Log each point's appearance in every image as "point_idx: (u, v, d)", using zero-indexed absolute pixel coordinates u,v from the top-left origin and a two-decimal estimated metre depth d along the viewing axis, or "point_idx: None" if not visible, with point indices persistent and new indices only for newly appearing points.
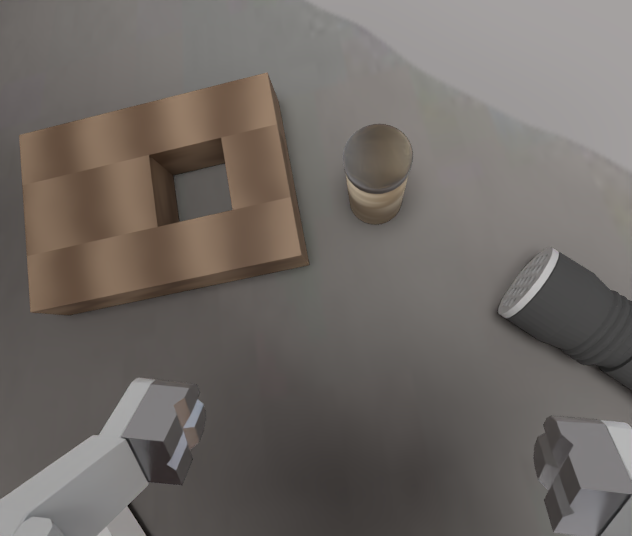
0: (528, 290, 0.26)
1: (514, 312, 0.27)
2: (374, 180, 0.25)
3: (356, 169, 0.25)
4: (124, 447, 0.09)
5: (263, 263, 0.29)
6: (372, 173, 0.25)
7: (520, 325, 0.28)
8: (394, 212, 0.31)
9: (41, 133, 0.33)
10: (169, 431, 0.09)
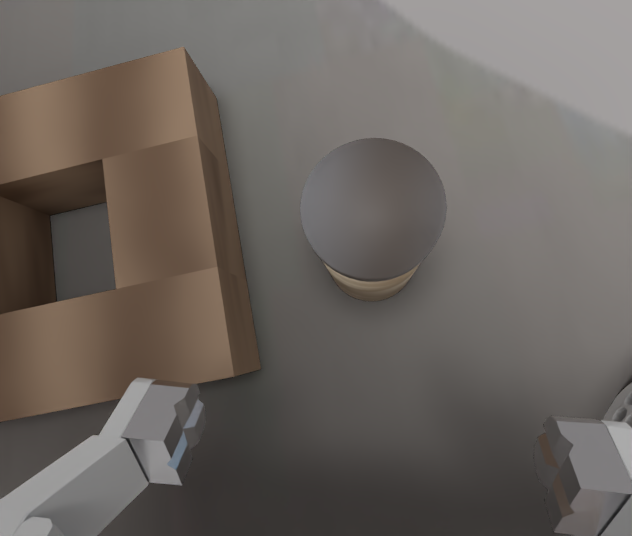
0: None
1: None
2: (365, 258, 0.12)
3: (327, 233, 0.12)
4: (124, 447, 0.09)
5: None
6: (360, 242, 0.12)
7: None
8: None
9: None
10: (169, 431, 0.09)
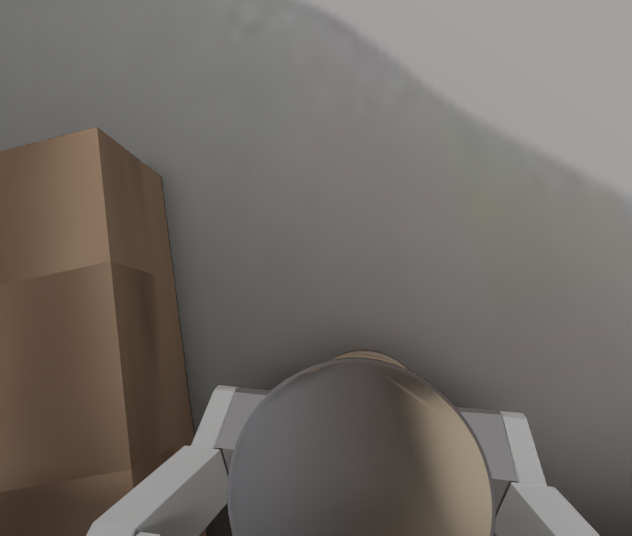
0: None
1: None
2: None
3: None
4: (218, 458, 0.09)
5: None
6: None
7: None
8: None
9: None
10: None
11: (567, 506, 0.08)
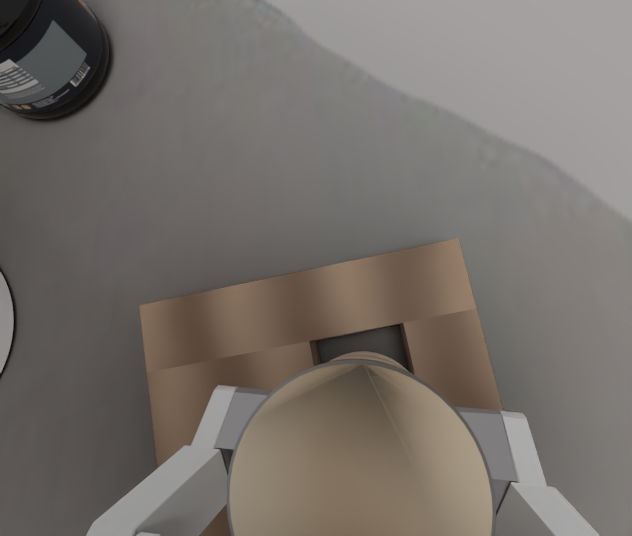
0: None
1: None
2: None
3: None
4: (218, 458, 0.09)
5: None
6: None
7: None
8: None
9: (167, 304, 0.27)
10: None
11: (567, 506, 0.08)
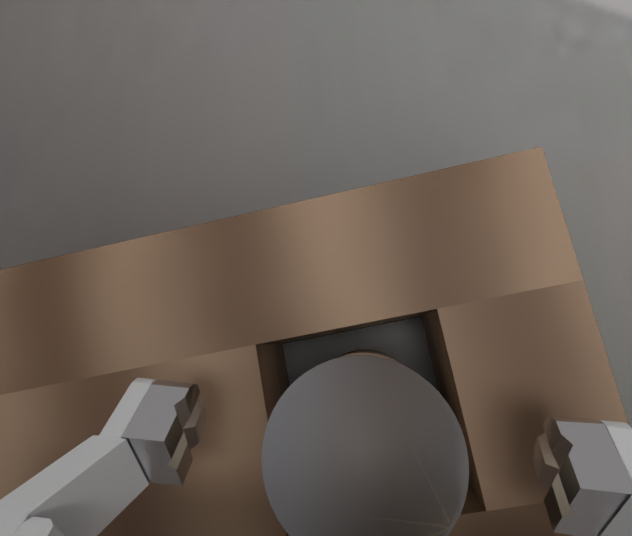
0: None
1: None
2: None
3: (299, 498, 0.09)
4: (124, 447, 0.09)
5: None
6: (345, 516, 0.08)
7: None
8: None
9: (3, 278, 0.15)
10: (169, 431, 0.09)
11: None
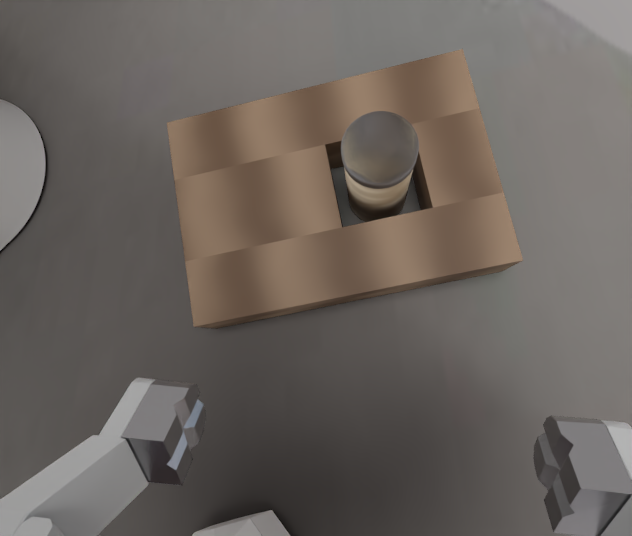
0: None
1: None
2: (376, 173, 0.22)
3: (355, 161, 0.23)
4: (124, 447, 0.09)
5: (474, 270, 0.25)
6: (373, 165, 0.23)
7: None
8: (397, 210, 0.29)
9: (193, 120, 0.29)
10: (169, 431, 0.09)
11: None
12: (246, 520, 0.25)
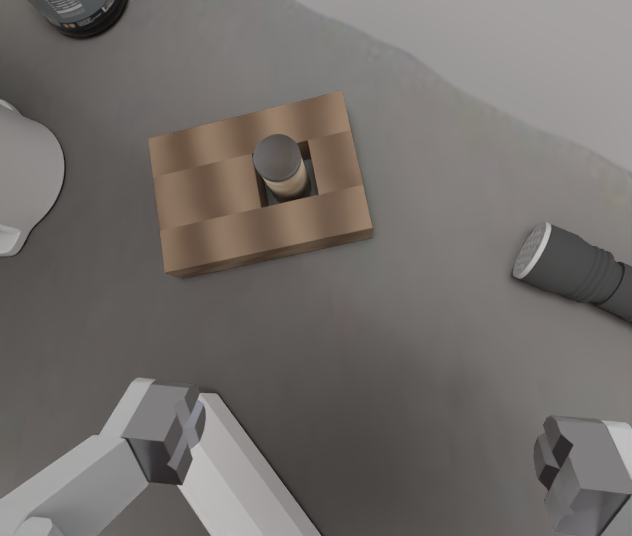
0: (534, 255, 0.36)
1: (526, 272, 0.37)
2: (273, 172, 0.37)
3: (262, 165, 0.37)
4: (124, 447, 0.09)
5: (343, 234, 0.39)
6: (272, 168, 0.37)
7: (532, 282, 0.37)
8: (302, 197, 0.43)
9: (165, 137, 0.43)
10: (169, 431, 0.09)
11: None
12: None
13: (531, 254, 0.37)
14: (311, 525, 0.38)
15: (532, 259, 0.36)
